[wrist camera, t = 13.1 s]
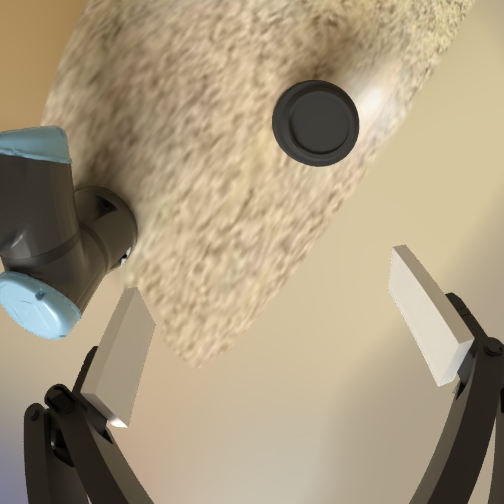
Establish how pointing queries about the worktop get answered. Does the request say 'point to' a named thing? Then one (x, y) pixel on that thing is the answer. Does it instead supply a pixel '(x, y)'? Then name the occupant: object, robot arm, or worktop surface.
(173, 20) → the worktop surface
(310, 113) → the coffee cup
